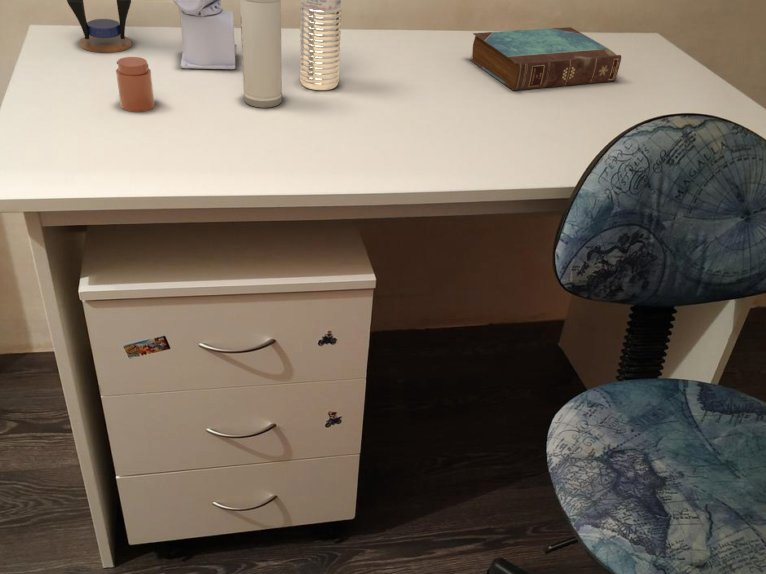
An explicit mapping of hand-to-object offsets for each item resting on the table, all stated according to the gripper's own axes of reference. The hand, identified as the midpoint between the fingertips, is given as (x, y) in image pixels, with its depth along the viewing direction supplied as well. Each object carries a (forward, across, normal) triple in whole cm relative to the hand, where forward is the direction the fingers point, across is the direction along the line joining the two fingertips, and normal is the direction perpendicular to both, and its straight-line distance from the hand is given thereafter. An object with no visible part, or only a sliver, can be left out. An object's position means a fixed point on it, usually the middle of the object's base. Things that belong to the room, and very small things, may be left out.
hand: (104, 37), depth 148 cm
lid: (-2, 0, 0) cm, 2 cm away
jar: (+1, +5, -30) cm, 30 cm away
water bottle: (+1, +36, -22) cm, 42 cm away
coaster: (+1, 0, 0) cm, 1 cm away
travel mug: (+1, +25, -29) cm, 38 cm away
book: (+1, +81, -17) cm, 82 cm away
